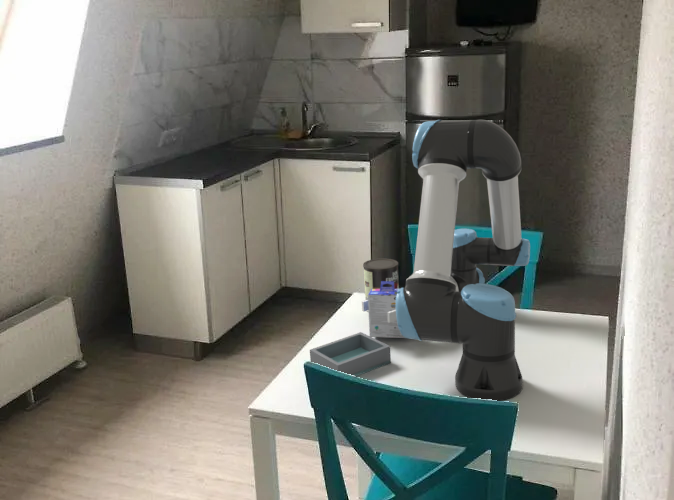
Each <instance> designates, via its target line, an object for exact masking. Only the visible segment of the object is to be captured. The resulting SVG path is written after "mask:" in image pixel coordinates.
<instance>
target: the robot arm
mask: <svg viewBox="0 0 674 500" xmlns="http://www.w3.org/2000/svg"><path fill="white" fill-rule="evenodd" d="M411 156H412V157H411V158H412V159H411V160H412V164H413V167H415V168H416V169H417V173H418V175H419V176H420V178H421V179H422V182H423V183H422V190H421V198H420V199H421V200H420V208H419V217H418V229H417V236H416V237H417V238H416V246H415V247H416V248H415V255H414V256H415V257H414V264H413V272H412V274H411V275H409V277H408V278H406V280H405V285H404V287H399V289H398V291H397V295H396V310H393V311H389V312H387V314H388V322H389V323H390V322H393V321H396V320H397V324H398V328H399V330H400V333H401V334H402V335H403V336H404V337H405V338H404V339H411V340H418V341H419V342H423V341H427V342H428V341H431V342H440V343H441V342H442V343H452V344H453V343H454V344H461V345H462V354H461V357H460V361H459V364H458V367H457V370H456V372H455V376H454V383H455V384H454V385H455V388H456V389H457V391H458V392H459V393H460V394H462V395H463V396H466V397H468V398H470V397H471V398H470V399H473V398H481V399H492V400H498V401H504V400H508V399H511V398H514V397H516V396H517V395H519V394H520V393H521V392H522V390H523V376H522V375H523V374H522V372H521V370H520V366H519V363H518V361H517V358H516V357H517V356H516V318H517V312H516V304H515V303H516V302H515V297H514V296H513V295H512V294H511V293H510V291H507V290H506V289H505V288H503V287H500V286H497V285H494V284H489V283H485V281H486V279H485V277H484V273H483V272H482V270H481V269H480V268H479V267H477V265H485V266H486V265H487V266H489V265H490V266H503V267H504V266H507V267H519V266H520V267H524V266H525V267H526V266H528V265H529V263H530V257H531V243H530V240H529V239H526V238H524V237H523V238H522V226H521V225H522V224H521V210H520V208H521V207H520V192H519V175H520V173H521V171H522V158H521V153H520V151H519V148H518V145H517V144H516V142H515V141H514V139H513V138H512V136H511V135H510V134H509V133H508V132H507V131H506V130H505V129H504V128H503V127H501V126H500V125H498V124H496V123H495V122H493V121H491V120H486V119H469V120H468V119H467V120H465V119H464V120H462V119H460V120H457V119H456V120H443V119H437V120H429V121H424V122H422V124H420V125H419V126H418V128H417V130H416V132H415V134H414V138H413V142H412V155H411ZM468 169H469V170H470V169H471V170H472V169H473V170H474V169H476V170H477V169H481V172H482V175H483V176H484V178H485V179H486V183H487V184H486V186H487V193H488V203H489V204H488V205H489V215H490V222H491V233H492V237H478V235H477V231H475V229H471V228H457V229H456V218H457V208H458V198H459V187H460V182H462V181H463V180H465V178H466V177H467V170H468ZM361 310H362V312H367V310H369V309H368V300H362V301H361Z"/></svg>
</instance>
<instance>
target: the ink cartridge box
mask: <svg viewBox="0 0 674 500" xmlns="http://www.w3.org/2000/svg"><path fill="white" fill-rule="evenodd" d="M384 284H390V285H392V287H383V285H384ZM397 291H398V289H394V281H381V287H380V289H371V290H370V292H369V294H368V309H369V312H368V324H369V325H368V329H369V336H370V337H372V338H395V339H396V338H402V339H406V338H405V337H404V336H403V335H402V334H401V333H400V330H399V328H398V324H397V320H396V321H393V322H390V323H389V322H388V314H387V312H389V311H393V310H396V295H397Z"/></svg>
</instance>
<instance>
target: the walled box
mask: <svg viewBox="0 0 674 500" xmlns="http://www.w3.org/2000/svg"><path fill="white" fill-rule="evenodd" d="M309 355H310V356H309V358H310V359H309V361H310V363H311V362H314V363H318V364H320V365H323V366H326V367H329V368H331V369H334V370H337V371H341V372H344V373H347V374H351V375H355V377H357V376H360V375H363V374H365V373H367V372H370V371H373V370H375V369H378V368H381V367H383V366H386V365H388V364H391V363H392V361H391V360H392V359H391V345H389V344H386V343H385V342H383V341H380V340H378V339H376V338H375V337H370V335H368V334H366V333H364V332H361V331H360V332H357V333H355V334H351V335H349V336H345V337H343V338H339V339H338V340H334V341H331V342H328V343H326V344H322V345H320V346H317V347H314V348H311V349H309Z"/></svg>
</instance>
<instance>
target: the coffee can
mask: <svg viewBox="0 0 674 500" xmlns="http://www.w3.org/2000/svg"><path fill="white" fill-rule="evenodd" d="M362 264H363V265H362V267H363V277H364V278H363V279H364V280H363V282H364V298H365V300H368V294H369V292H370V290H371V289H380V287H381V281H394V289H400V287H399V286H400V285H399V261H397V260H396V259H392V258H385V257H384V258H373V259H368V260H366V261H365V262H363V263H362ZM383 287H392V285H390V284H384V285H383ZM365 300H364V301H365ZM366 312H367V313H369V310H367V311H366Z"/></svg>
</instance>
